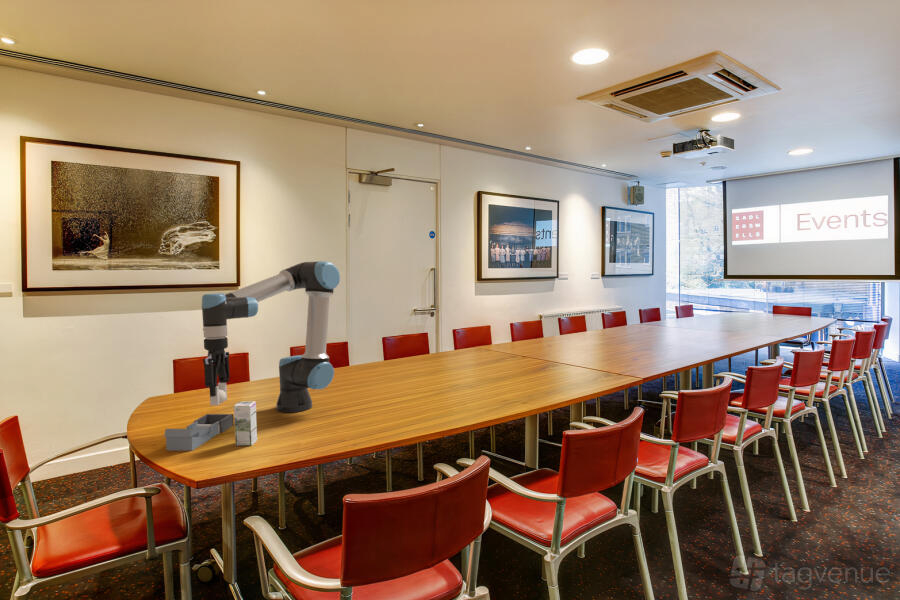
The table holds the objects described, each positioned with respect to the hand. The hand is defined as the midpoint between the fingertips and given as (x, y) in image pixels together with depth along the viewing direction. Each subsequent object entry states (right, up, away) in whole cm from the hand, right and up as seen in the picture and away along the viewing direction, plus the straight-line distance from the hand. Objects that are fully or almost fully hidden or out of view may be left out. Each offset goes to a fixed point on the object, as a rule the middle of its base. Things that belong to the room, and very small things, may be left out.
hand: (218, 402), depth 171 cm
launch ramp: (-10, -14, +2) cm, 17 cm away
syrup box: (+10, -14, -1) cm, 18 cm away
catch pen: (-9, -13, +16) cm, 23 cm away
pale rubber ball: (0, +2, 0) cm, 2 cm away
